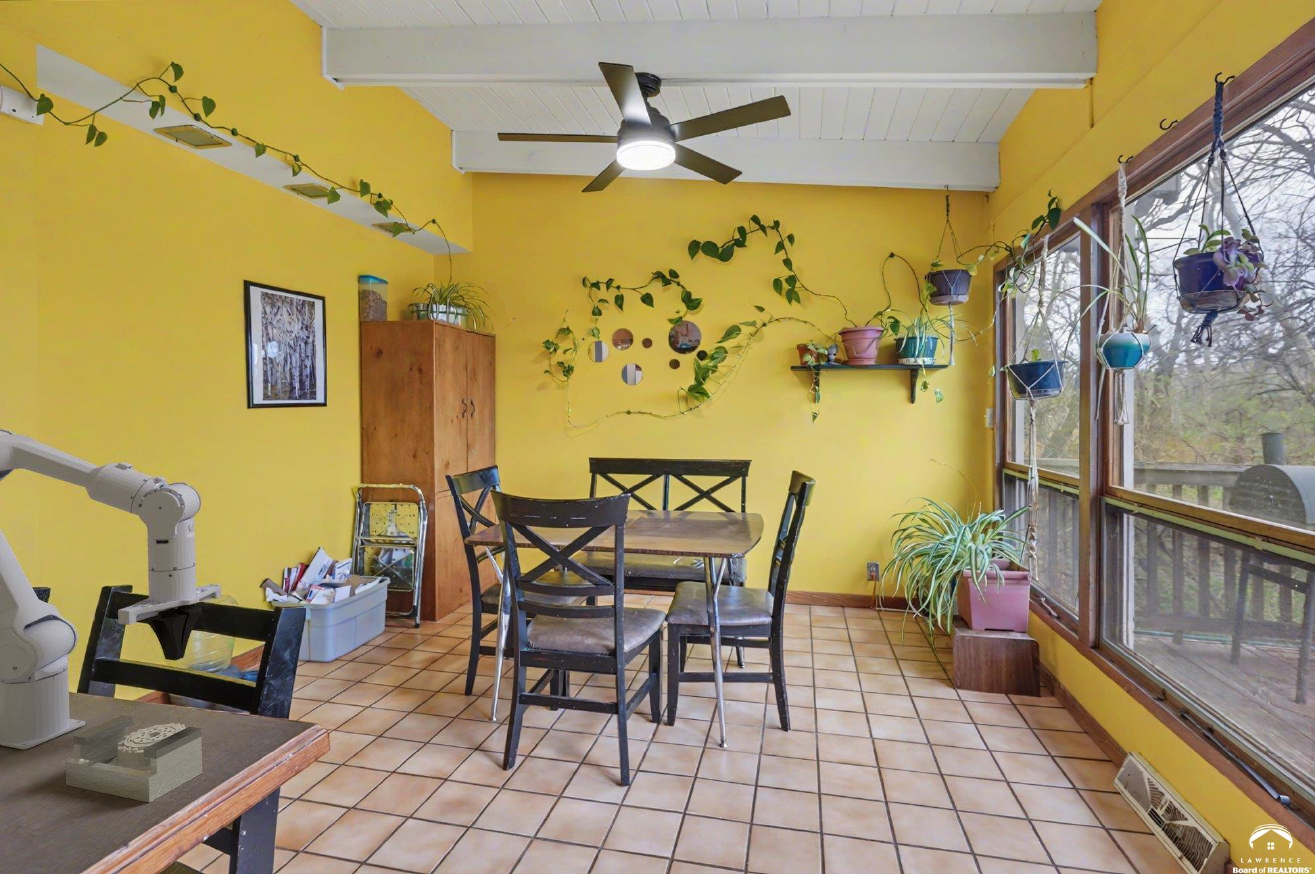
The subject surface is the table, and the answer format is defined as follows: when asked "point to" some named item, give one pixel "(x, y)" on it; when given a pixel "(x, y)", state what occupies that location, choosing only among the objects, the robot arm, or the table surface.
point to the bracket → (168, 766)
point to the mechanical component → (142, 745)
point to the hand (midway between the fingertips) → (174, 658)
